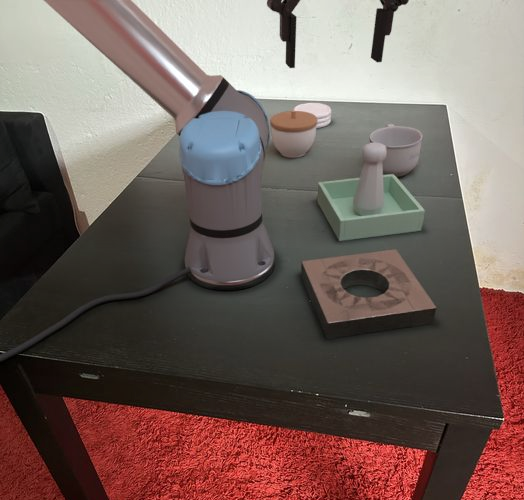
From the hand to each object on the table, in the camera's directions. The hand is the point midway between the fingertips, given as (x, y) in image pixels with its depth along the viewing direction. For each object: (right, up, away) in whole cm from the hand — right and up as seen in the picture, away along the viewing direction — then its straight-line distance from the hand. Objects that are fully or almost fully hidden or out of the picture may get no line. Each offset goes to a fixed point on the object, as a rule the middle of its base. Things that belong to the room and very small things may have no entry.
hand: (333, 63), depth 79 cm
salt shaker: (+9, -17, +21) cm, 29 cm away
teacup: (+18, -3, +37) cm, 41 cm away
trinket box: (-3, +3, +45) cm, 45 cm away
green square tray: (+9, -18, +21) cm, 29 cm away
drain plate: (+5, -35, +2) cm, 36 cm away
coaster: (+2, +16, +59) cm, 61 cm away
